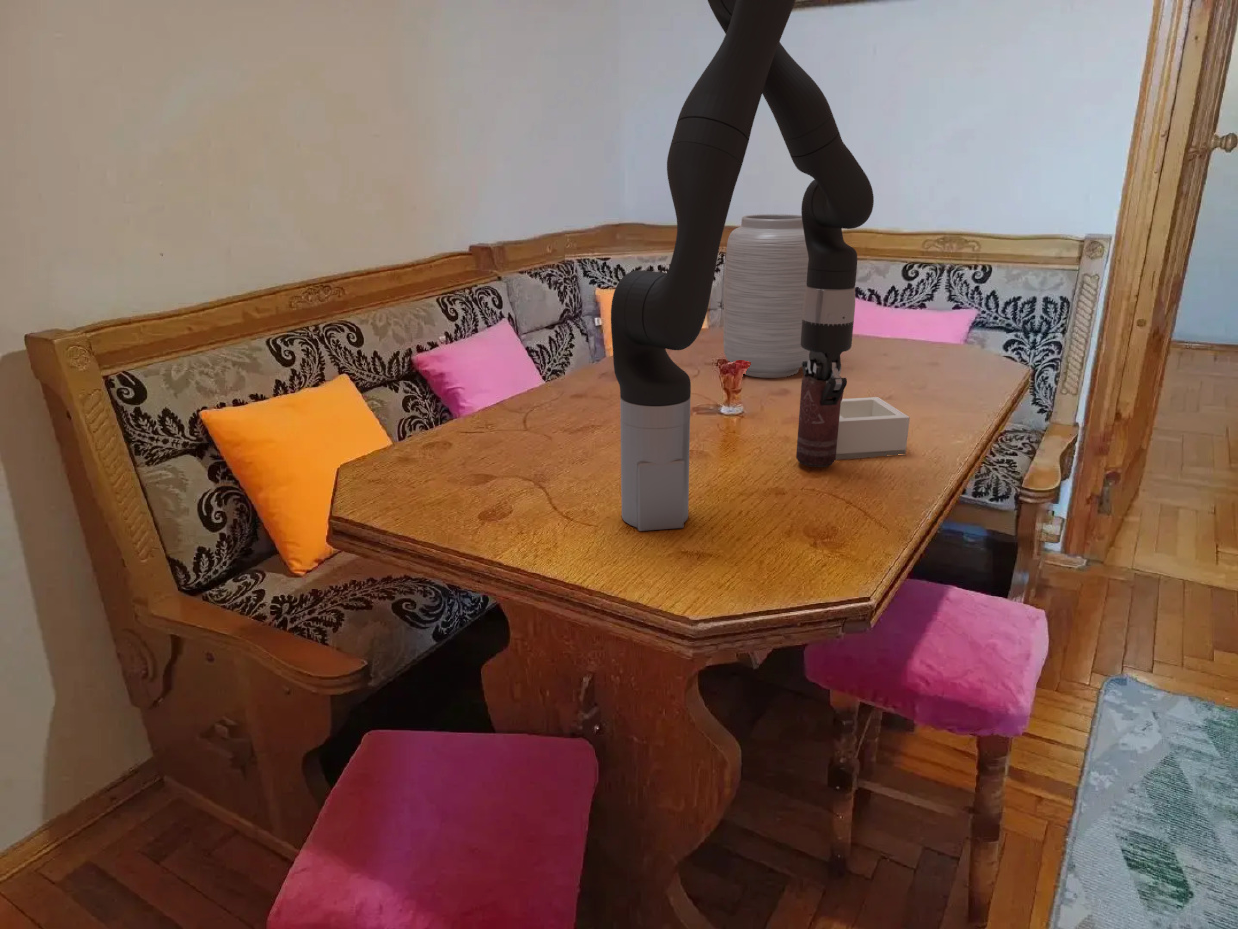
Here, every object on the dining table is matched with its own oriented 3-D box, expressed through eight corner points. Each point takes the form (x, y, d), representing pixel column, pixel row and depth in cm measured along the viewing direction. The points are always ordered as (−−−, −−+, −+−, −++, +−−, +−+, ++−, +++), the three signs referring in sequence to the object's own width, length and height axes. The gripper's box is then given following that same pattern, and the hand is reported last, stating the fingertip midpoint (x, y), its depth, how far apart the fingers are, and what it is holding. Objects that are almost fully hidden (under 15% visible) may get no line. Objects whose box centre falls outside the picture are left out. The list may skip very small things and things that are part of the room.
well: (905, 455, 138) (909, 417, 136) (835, 459, 137) (838, 421, 135) (874, 432, 150) (877, 396, 147) (809, 436, 148) (811, 400, 146)
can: (837, 469, 131) (845, 381, 126) (795, 466, 132) (802, 379, 127) (836, 456, 136) (844, 371, 131) (796, 453, 137) (802, 369, 132)
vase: (743, 385, 180) (750, 221, 168) (708, 363, 198) (712, 214, 186) (828, 377, 185) (841, 218, 173) (787, 357, 203) (796, 211, 191)
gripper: (870, 324, 120) (859, 440, 126) (835, 308, 133) (826, 414, 139) (820, 326, 119) (810, 442, 125) (789, 310, 132) (782, 416, 138)
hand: (819, 427), depth 132 cm, fingers closed
